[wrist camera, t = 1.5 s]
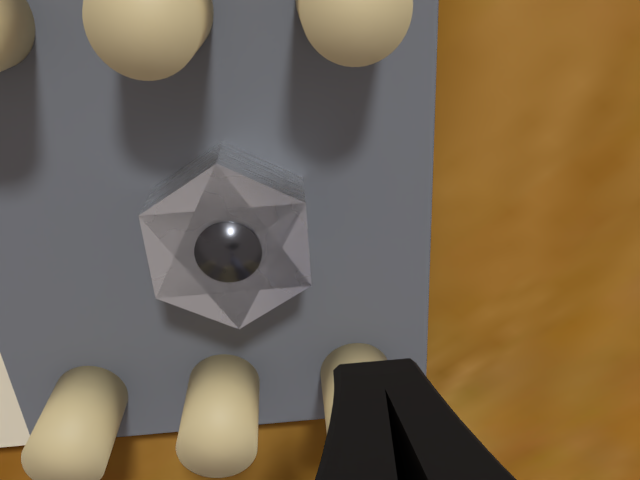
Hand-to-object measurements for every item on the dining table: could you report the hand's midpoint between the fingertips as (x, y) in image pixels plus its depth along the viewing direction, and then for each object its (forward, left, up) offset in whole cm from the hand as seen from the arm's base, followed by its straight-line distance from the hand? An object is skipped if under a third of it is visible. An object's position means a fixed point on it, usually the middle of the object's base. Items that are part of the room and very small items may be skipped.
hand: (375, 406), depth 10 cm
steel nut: (0, +3, -8) cm, 9 cm away
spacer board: (0, +8, -9) cm, 12 cm away
